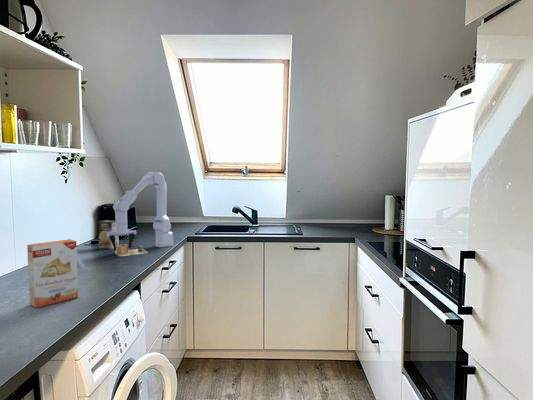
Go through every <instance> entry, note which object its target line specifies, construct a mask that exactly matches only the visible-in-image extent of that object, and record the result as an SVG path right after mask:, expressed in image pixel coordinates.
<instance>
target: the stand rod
mask: <svg viewBox="0 0 533 400" xmlns="http://www.w3.org/2000/svg"><path fill="white" fill-rule="evenodd" d="M142 248H143V245H138V246H137V249H138V252H141V251H142Z"/></svg>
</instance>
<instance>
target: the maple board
mask: <svg viewBox="0 0 533 400" xmlns="http://www.w3.org/2000/svg"><path fill="white" fill-rule="evenodd" d="M128 250H129V252H130V253H129V254H125V255H117V257H126V256H135V255H143V254H144V255H145V254H149V252H148V251H147V250H145V249H144V248H143V247H142V251H141V252H138V248H135V249H134V248H133V249H128ZM115 253H117V251H116V250H115V251H114V254H115Z"/></svg>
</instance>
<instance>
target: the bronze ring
mask: <svg viewBox="0 0 533 400" xmlns="http://www.w3.org/2000/svg"><path fill="white" fill-rule="evenodd" d="M129 250H130V249H129V244H126V243H125V244H119V245H117V246H116V250H115V252H116V251H117V254H127V253H129Z"/></svg>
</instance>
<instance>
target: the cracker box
mask: <svg viewBox="0 0 533 400" xmlns="http://www.w3.org/2000/svg"><path fill="white" fill-rule="evenodd" d="M26 250H27V271H28V272H27V273H28V275H27V276H28V292H29V305H30V306H32V307H33V308H34V309H38V308H41V307H46V306H50V305H53V304H58V302H59V303H62V301H63V302H65V300H67V301H70V300H69V299H71V300H73V299H72V298H75V299H77V298H76V297H78V298H79V283H78V281H79V280H78V255H77V254H78V253H77V252H78V251H77V250H78V247H77V241H76V240H74V239H68V238H67V239H61V240H53V241H48V242H45V241H44V242H37V243H30V244H27V245H26Z"/></svg>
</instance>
